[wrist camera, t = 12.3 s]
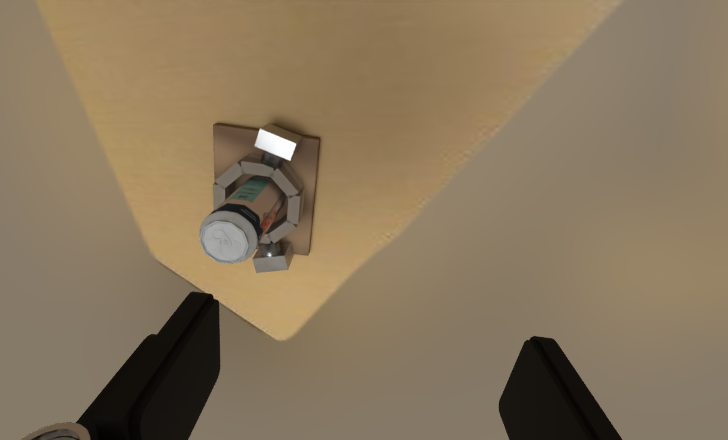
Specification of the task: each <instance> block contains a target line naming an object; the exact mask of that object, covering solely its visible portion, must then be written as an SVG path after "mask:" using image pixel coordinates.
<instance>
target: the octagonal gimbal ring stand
mask: <svg viewBox="0 0 728 440" xmlns="http://www.w3.org/2000/svg"><path fill="white" fill-rule="evenodd" d="M259 130H260V129H256V128H249V127H242V126H235V125H228V124H221V123H216V124H214V125H213V138H214V174H215V183H214V184H213V199H214V210H215V209H216V208H217V207H218V206H219V205H220V204H222V203H223V202H224V201H225V200H226V199H227V198H228V197H229V196H230V195H231V194H232V193H234V192H235V191H236V190H237V189H238V188H239V187H240V186H241V185H242V184H243V183H244V182H245V181H246V180H248V179H249V178H251V177H253V176H255V175H260V176H267V177H271V178H272V179H273V180H274V181H275V183H276V184H277V185H278V186H279V187H280V188H281V189H282V191H283V192H284V193H285V201H284V204H283V207H282V208H281V210H280V211H279V213H278V214H277V216H276V218H275V219H274V221H273V222H272V224H271V226H270V227H269V229H268V230H267V232H266V234H265V235H264V237H263V238H262V240H261V242H260V243H264V244H270V243H271V241H272V242H273V243H276V242H277V241H279V242H288V241H291V243H292V248H293V252H294V254H299V255H306V256H308V255H309V252H310V244H311V233H312V222H313V211H314V201H315V190H316V179H317V168H318V157H319V147H320V138H317V137H310V136H303V135H299V136H301V137H302V140H301V143H300V146H299V148H298V151H297V153H296V154H295V156H294V157H293V158H292V159H291V160H290V161H289V160H287V159H285V160H284V162H283V165H282V168H281V169H275V168H271V167H268V166H266V165H264V164H263V163H262V162H261V161H260V159H261V156H262V153H263V149H260V148H258V147H255V143H256V140H257V137H258V133H259ZM256 249H259V245H258V246H257V248H256Z"/></svg>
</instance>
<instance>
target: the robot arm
mask: <svg viewBox="0 0 728 440" xmlns="http://www.w3.org/2000/svg"><path fill="white" fill-rule="evenodd" d="M219 371H220V330H219V301H218V300H214V299H213V295H212V294H207V293H200V292H191V293H190V294H189V295H188V296H187V297H186V298H185V300H184V301H183V302H182V303H181V305H180V306H179V307H178V309H177V310H176V311H175V312H174V314H173V315H172V316H171V317H170V319H169V320H168V321H167V323H166V324H165V325H164V326H163V328H162V329H161V330H160V331H159V333H158V334H157V335H155V334H151V335H149V336H147V338H146V339H144V340H143V342H142V343H141V344H140V345H139V347H138V348H137V349H136V350H135V351H134V353H133V354H132V355H131V356H130V357H129V359H128V360H127V361H126V362H125V364H124V365H123V366H122V367H121V368H120V370H119V371H118V372H117V373H116V374H115V376H114V377H113V378H112V379H111V381H110V382H109V383H108V384H107V385H106V387H105V388H104V389H103V390H102V392H101V393H100V394H99V395H98V397H97V398H96V399H95V400H94V402H93V403H92V404H91V405H90V406H89V407H88V409H87V410H86V411H85V412H84V413H83V415H82V416H81V417H80V418H79V420H78V421H77V422H76V423H71V422H66V423H56V424H53V425H50V426H46V427H43V428H41V429H39V430H37V431H35V432H33V433H31V434H29V435H27V436H26V437H24V438H23V439H21V440H188V438H189V437H190V435H191V432H192V430H193V428H194V426H195V424H196V422H197V420H198V418H199V416H200V414H201V412H202V410H203V408H204V406H205V403H206V402H207V399H208V397H209V395H210V393H211V391H212V389H213V387H214V385H215V383H216V381H217V378H218V375H219ZM499 412H500V416H501V418H502V421H503V424H504V426H505V429H506V432H507V434H508V437H509V440H622V439H621V437H620V436H619V434H618V433H617V431H616V430H615V428H614V427H613V425H612V424H611V422H610V421H609V419H608V418H607V416H606V415H605V413H604V412H603V410H602V409H601V408H600V406H599V404H598V403H597V401H596V400H595V399H594V397H593V395H592V394H591V392H590V391H589V390H588V388H587V387H586V385H585V384H584V382H583V381H582V379H581V378H580V376H579V375H578V373H577V372H576V370H575V369H574V367H573V366H572V365H571V363H570V361H569V360H568V359H567V357H566V355H565V354H564V352H563V351H562V349H561V348H560V347H559V345H558V344H557V342H556V341H555V340H554V339H552V338H544V337H537V336H533V337H531V338H530V340H526V341H525V342H524V345H523V347H522V349H521V351H520V354H519V356H518V358H517V361H516V363H515V365H514V368H513V370H512V373H511V375H510V377H509V380H508V382H507V384H506V387H505V389H504V391H503V394H502V396H501V398H500V401H499Z"/></svg>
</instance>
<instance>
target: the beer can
mask: <svg viewBox="0 0 728 440" xmlns="http://www.w3.org/2000/svg"><path fill="white" fill-rule="evenodd" d="M284 201H285V193H284V192H283V191H282V189H281V188H280V187H279V186H278V185H277V184H276V183H275V181H274V180H273V179H272V178H271V177H267V176H260V175H255V176H253V177H251V178H249V179H248V180H246V181H245V182H244V183H243V184H242V185H241V186H240V187H239V188H238V189H237V190H236V191H235V192H234V193H232V194H231V195H230V196H229V197H228V198H227V199H226V200H225V201H224V202H223V203H222V204H220V205H219V206H218V207H217V208H216V209H215V210H214V211H213V212H212V213H211V214H210V215H209V216H207V217H206V218H205V219H204V221H203V222H202V224H201V228H200V243H201V245H202V247H203V250H204V252H205V254H207V255H208V256H209V257H211V258H212V259H214V260H215V261H216V262H219V263H228V264H233V263H238V262H241V261H244V260H246V259H248V258H249V257H250V256H251V255H252V254H253V253H254V251H255V250H256V248H257V246H258V245H259V243H260V242H261V240H262V238H263V237H264V235H265V234H266V232H267V230H268V229H269V227H270V226H271V224H272V222H273V221H274V219H275V218H276V216H277V214H278V213H279V211H280V210H281V208H282V207H283V204H284Z"/></svg>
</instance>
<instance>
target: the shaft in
mask: <svg viewBox="0 0 728 440" xmlns="http://www.w3.org/2000/svg"><path fill="white" fill-rule="evenodd" d="M301 140H302V137H301V136H299V135H297V134H294V133H292V132H289V131H287V130H285V129H282V128H280V127H278V126H275V125H273V124H271V123H269V124H267V125H265V126H264V127H262V128H260V130H259V133H258V137H257V140H256V143H255V147H258V148H260V149H263V153H262V156H261V159H260V161H261V162H262V163H263V164H264V165H266V166H268V167H271V168H275V169H281V168H282V165H283V162H284V160H285V159H287V160H289V161H290V160H291V159H292V158H293V157H294V156H295V154H296V153H297V151H298V148H299V146H300V143H301Z"/></svg>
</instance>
